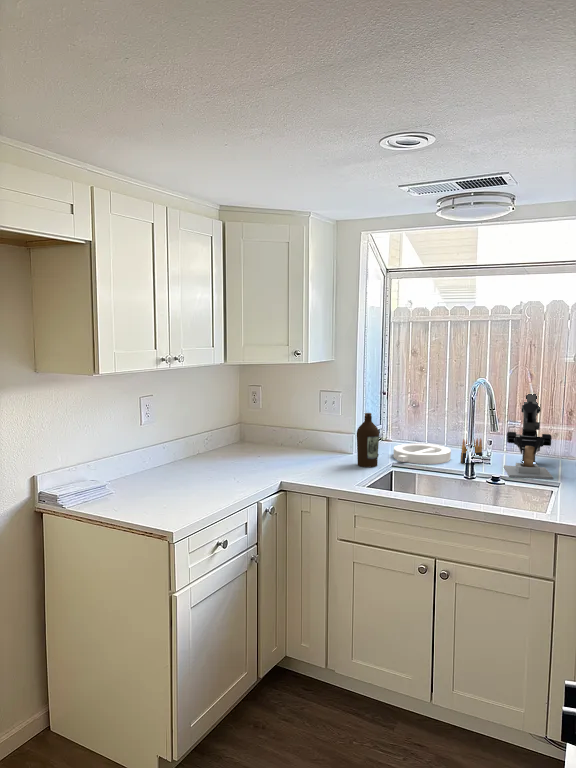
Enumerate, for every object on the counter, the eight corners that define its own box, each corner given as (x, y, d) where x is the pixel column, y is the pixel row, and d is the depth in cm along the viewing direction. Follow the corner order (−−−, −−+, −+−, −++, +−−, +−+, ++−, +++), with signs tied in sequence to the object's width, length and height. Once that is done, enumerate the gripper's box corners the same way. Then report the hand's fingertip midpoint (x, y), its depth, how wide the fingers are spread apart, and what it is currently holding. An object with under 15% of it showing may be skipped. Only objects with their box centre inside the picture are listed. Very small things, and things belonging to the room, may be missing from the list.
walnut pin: (521, 469, 270) (523, 445, 269) (528, 469, 271) (531, 445, 270) (526, 471, 266) (529, 447, 265) (534, 471, 267) (536, 447, 266)
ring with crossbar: (443, 452, 313) (443, 443, 313) (456, 465, 286) (456, 455, 285) (390, 452, 314) (390, 443, 314) (398, 464, 287) (398, 454, 286)
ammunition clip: (462, 463, 287) (462, 439, 286) (460, 462, 289) (461, 438, 288) (482, 462, 289) (483, 438, 288) (480, 461, 291) (481, 437, 290)
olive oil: (351, 464, 285) (352, 412, 282) (368, 461, 291) (369, 411, 288) (366, 468, 276) (367, 415, 274) (383, 466, 282) (384, 413, 279)
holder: (503, 467, 279) (504, 460, 279) (544, 469, 275) (545, 462, 275) (509, 476, 261) (509, 469, 261) (553, 479, 257) (553, 471, 257)
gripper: (507, 414, 273) (505, 442, 264) (552, 416, 266) (551, 445, 257) (508, 428, 281) (506, 456, 272) (551, 431, 274) (550, 459, 265)
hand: (528, 454), depth 266 cm, fingers open, 5 cm apart
